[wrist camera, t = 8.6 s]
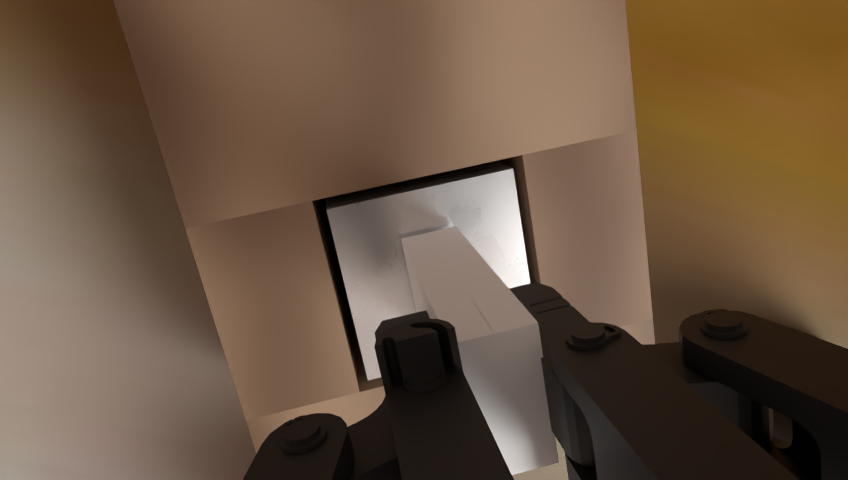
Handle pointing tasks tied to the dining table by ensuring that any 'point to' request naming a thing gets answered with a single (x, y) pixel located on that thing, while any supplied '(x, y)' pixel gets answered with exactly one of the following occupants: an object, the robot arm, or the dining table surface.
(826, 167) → the dining table surface
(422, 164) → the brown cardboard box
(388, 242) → the peg
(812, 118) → the dining table surface
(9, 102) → the dining table surface
